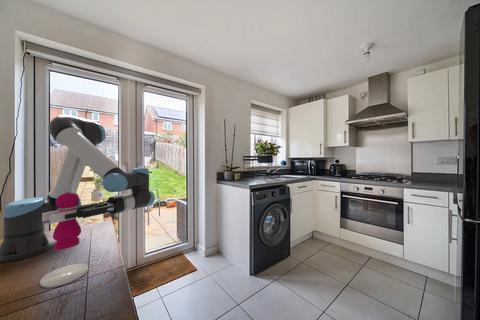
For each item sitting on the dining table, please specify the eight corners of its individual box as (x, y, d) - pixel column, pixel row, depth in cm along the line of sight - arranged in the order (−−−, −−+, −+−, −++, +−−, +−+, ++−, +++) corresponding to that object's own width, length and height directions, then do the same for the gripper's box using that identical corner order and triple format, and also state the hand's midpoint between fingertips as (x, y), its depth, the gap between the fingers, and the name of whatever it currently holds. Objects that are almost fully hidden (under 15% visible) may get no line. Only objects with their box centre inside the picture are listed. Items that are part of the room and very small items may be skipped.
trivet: (33, 281, 60) (33, 278, 60) (78, 263, 71) (78, 260, 71) (49, 292, 55) (49, 288, 55) (95, 271, 66) (95, 268, 66)
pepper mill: (56, 252, 58) (56, 190, 59) (49, 247, 62) (50, 189, 63) (84, 244, 64) (84, 188, 65) (76, 239, 68) (77, 186, 69)
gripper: (133, 214, 76) (59, 234, 55) (108, 210, 84) (35, 226, 63) (133, 196, 76) (59, 209, 55) (108, 194, 84) (35, 204, 63)
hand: (46, 218), depth 59 cm, fingers closed on pepper mill, 5 cm apart
